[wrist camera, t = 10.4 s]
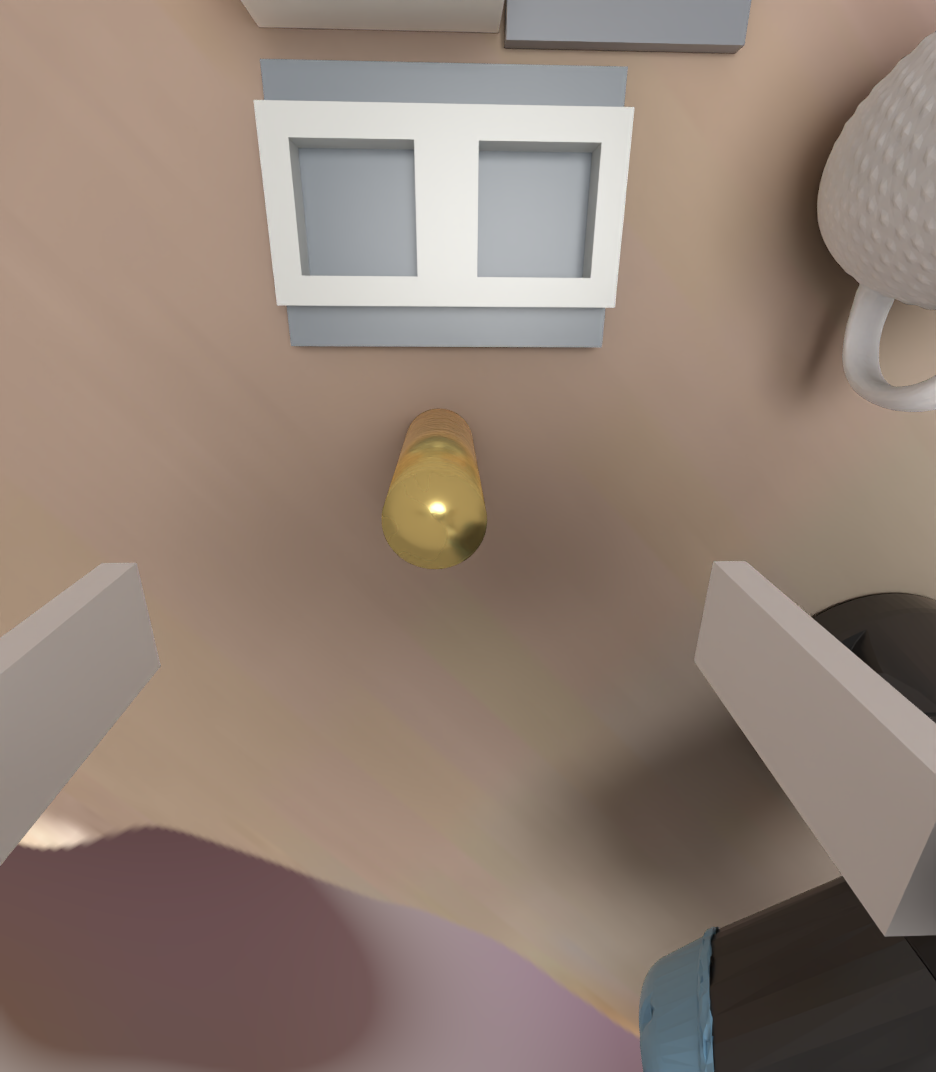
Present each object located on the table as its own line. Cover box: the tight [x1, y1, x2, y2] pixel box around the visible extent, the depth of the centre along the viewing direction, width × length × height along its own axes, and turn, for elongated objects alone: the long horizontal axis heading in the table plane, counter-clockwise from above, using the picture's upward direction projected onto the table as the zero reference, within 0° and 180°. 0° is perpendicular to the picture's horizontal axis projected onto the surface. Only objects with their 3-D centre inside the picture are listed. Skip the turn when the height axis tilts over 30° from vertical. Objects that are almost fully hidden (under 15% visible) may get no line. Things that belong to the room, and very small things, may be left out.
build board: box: [254, 59, 634, 347], centre depth 25 cm, size 11×15×3 cm
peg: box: [382, 409, 487, 569], centre depth 25 cm, size 4×4×12 cm
